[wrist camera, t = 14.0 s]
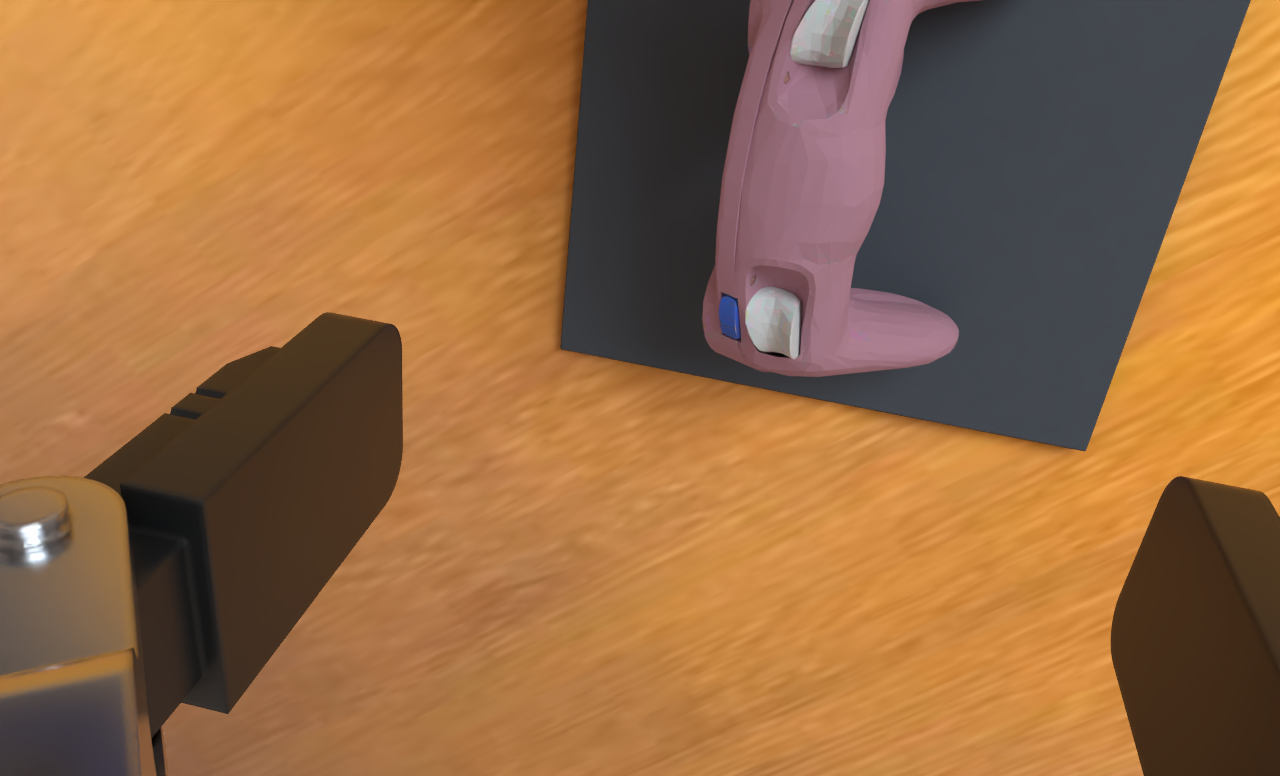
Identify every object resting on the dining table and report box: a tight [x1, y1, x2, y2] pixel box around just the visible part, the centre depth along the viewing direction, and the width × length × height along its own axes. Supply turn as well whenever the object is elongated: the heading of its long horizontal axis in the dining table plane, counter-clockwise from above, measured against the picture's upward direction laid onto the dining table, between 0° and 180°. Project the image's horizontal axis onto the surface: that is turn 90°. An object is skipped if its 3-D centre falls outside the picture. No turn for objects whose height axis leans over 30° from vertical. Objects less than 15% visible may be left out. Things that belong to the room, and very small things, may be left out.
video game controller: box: [702, 0, 980, 377], centre depth 22 cm, size 10×5×7 cm, turn 174°
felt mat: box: [561, 0, 1251, 451], centre depth 25 cm, size 14×14×1 cm
